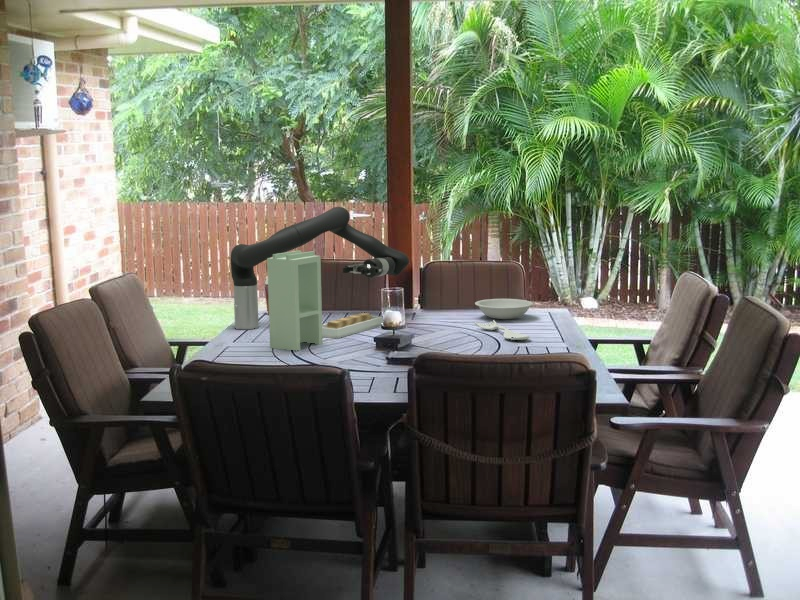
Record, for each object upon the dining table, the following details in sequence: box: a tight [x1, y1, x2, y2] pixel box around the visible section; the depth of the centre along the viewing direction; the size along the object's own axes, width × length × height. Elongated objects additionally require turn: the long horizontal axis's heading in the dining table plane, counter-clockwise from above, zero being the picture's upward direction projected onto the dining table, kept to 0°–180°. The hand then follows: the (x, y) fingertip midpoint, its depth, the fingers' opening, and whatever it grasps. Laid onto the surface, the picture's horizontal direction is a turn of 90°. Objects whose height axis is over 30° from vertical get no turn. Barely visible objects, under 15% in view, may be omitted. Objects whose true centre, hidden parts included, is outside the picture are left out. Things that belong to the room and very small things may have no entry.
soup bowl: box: [474, 298, 534, 320], centre depth 375 cm, size 24×24×7 cm
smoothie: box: [264, 277, 269, 315], centre depth 391 cm, size 8×8×20 cm
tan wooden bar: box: [326, 312, 372, 329], centre depth 352 cm, size 24×4×4 cm, turn 149°
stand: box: [266, 250, 323, 352], centre depth 322 cm, size 15×12×34 cm
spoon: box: [474, 319, 531, 341], centre depth 340 cm, size 9×32×4 cm, turn 22°
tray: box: [322, 315, 383, 340], centre depth 352 cm, size 31×11×4 cm, turn 148°
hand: (352, 271), depth 351 cm, fingers open, 8 cm apart
